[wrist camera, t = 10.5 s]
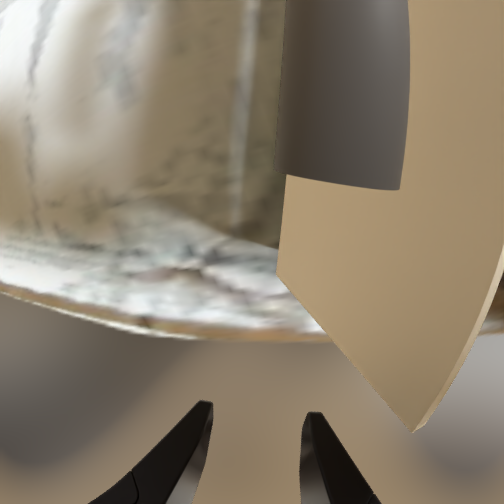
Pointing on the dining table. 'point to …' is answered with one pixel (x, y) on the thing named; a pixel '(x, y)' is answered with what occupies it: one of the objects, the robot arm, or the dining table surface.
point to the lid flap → (394, 183)
